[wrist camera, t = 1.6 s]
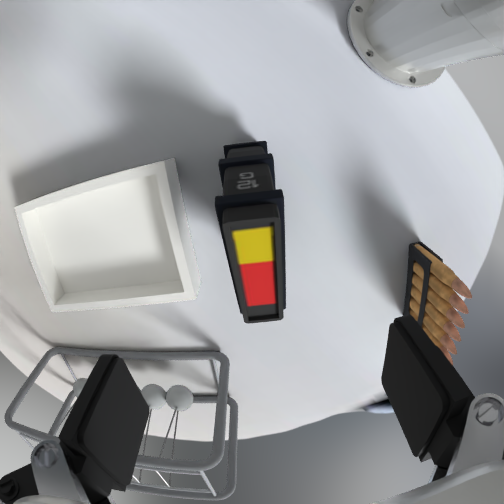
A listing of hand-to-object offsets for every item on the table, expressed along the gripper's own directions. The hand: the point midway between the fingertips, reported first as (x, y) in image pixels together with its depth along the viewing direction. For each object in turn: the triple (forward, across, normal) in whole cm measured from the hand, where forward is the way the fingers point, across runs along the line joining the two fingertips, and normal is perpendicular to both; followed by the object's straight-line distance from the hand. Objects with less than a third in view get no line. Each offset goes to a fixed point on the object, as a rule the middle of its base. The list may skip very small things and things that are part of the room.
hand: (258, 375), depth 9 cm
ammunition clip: (+23, -19, +12) cm, 32 cm away
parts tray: (+23, +17, 0) cm, 28 cm away
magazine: (+23, 0, 0) cm, 23 cm away
